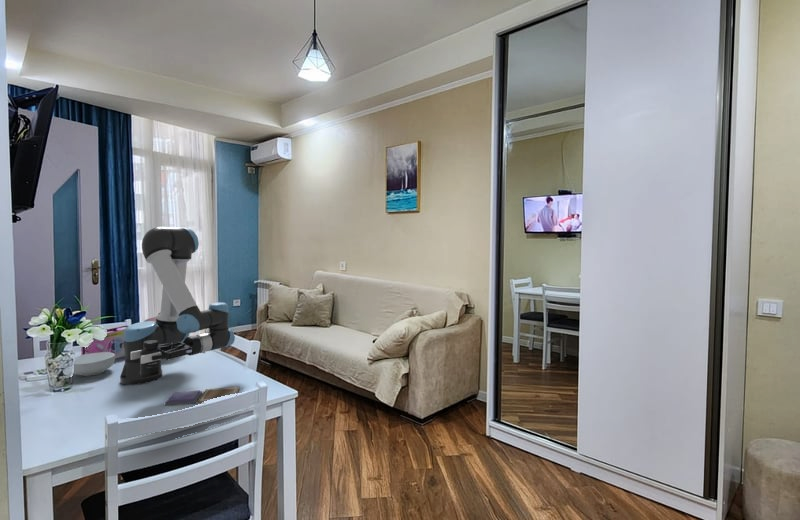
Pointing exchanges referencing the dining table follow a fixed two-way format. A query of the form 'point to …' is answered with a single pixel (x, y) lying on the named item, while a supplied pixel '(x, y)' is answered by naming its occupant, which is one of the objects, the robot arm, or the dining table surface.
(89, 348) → the gum box
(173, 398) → the ink pad
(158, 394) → the dining table surface
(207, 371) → the dining table surface
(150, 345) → the supplement bottle
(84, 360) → the cereal bowl
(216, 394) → the marked board
